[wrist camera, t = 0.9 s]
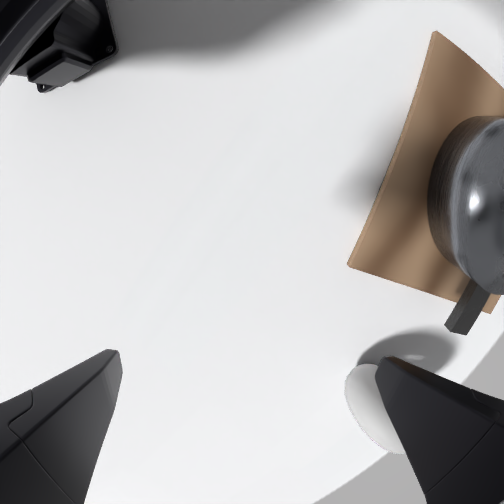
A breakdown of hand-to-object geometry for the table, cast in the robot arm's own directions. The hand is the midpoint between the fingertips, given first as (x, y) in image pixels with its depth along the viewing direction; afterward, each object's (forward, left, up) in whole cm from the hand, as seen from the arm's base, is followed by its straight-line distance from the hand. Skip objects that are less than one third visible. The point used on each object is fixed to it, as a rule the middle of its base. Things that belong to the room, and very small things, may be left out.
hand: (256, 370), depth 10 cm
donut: (+17, +8, -13) cm, 23 cm away
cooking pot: (+2, +21, -13) cm, 25 cm away
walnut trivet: (+2, +21, -13) cm, 25 cm away
